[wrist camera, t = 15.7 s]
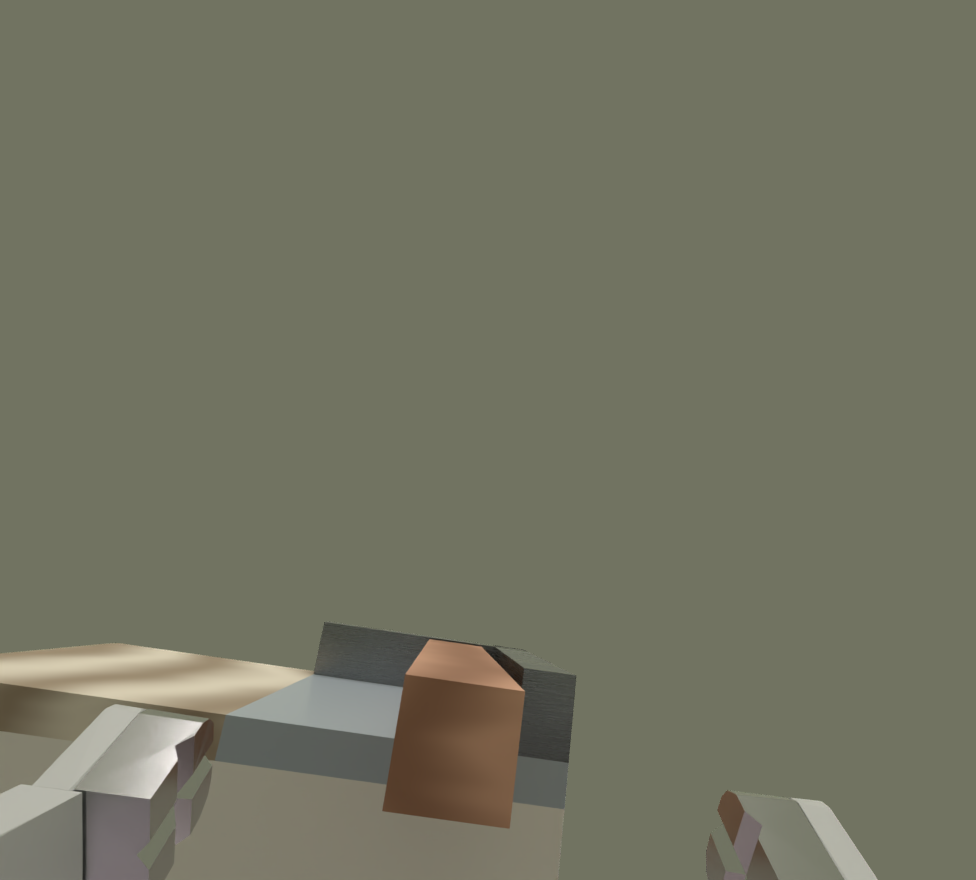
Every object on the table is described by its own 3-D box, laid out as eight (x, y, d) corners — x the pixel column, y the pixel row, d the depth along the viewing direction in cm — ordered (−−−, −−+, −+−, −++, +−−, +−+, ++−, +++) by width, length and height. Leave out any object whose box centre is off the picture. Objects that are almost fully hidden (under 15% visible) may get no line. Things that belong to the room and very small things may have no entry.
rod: (382, 811, 14) (405, 674, 15) (420, 695, 33) (429, 639, 34) (509, 828, 14) (525, 691, 15) (474, 703, 33) (481, 646, 34)
